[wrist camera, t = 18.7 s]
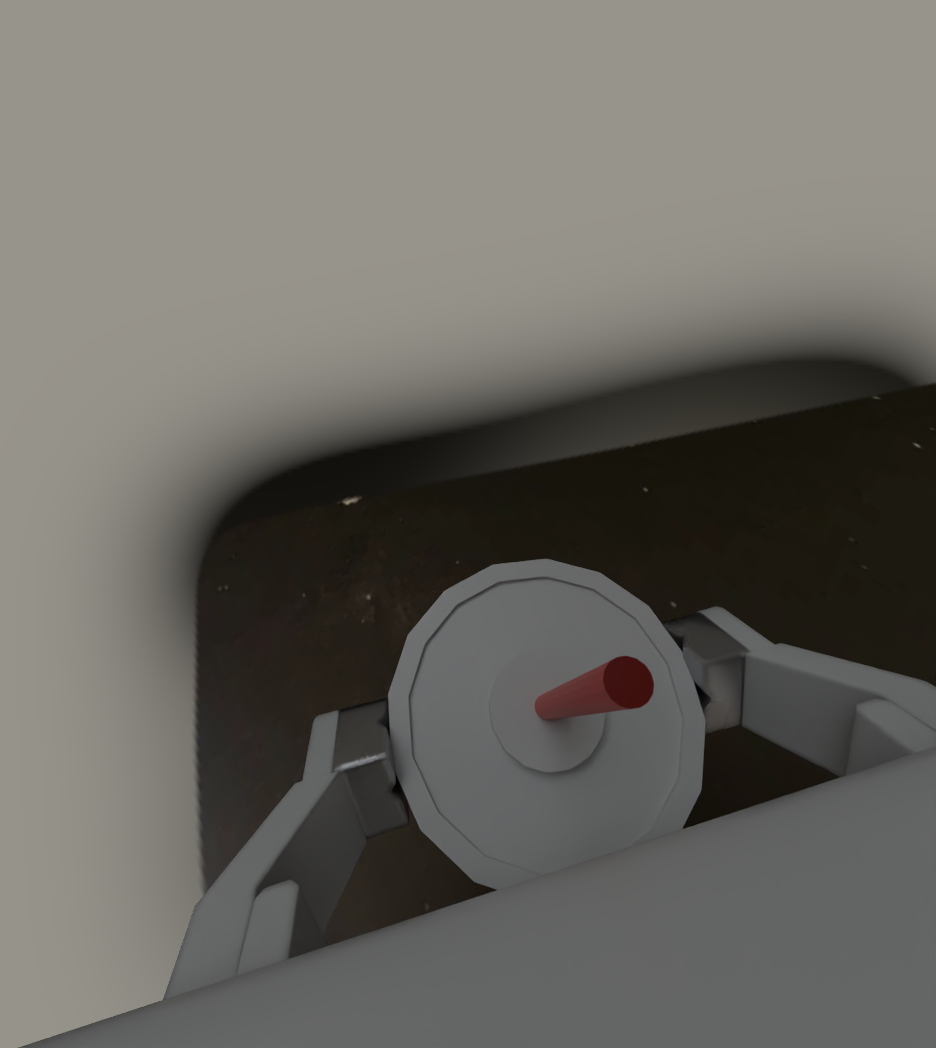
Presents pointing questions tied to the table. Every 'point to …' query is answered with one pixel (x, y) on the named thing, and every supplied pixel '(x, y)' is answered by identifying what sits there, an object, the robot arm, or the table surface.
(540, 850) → the beverage cup
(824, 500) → the table surface
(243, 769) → the table surface
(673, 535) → the table surface
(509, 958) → the robot arm
